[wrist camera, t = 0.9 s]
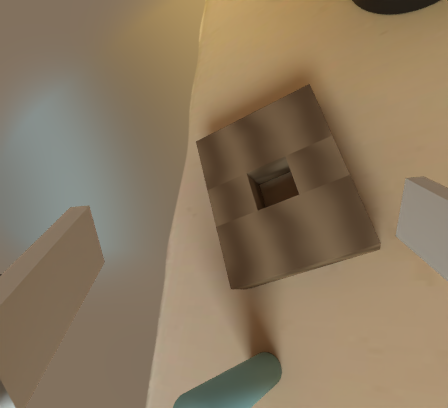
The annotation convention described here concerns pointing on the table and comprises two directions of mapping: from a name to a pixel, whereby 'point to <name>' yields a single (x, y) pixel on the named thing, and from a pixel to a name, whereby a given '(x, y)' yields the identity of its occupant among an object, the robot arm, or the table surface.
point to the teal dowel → (235, 385)
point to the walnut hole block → (290, 208)
